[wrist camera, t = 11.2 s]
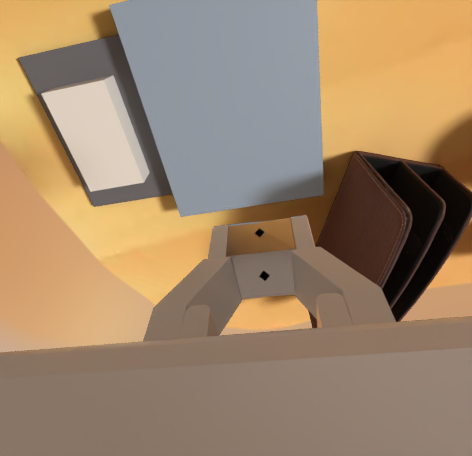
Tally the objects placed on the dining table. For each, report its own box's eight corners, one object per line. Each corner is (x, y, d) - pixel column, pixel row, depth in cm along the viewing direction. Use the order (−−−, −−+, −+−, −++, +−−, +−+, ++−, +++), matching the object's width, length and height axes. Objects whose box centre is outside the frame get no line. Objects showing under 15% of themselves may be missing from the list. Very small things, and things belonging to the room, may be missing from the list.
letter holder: (300, 281, 45) (320, 375, 33) (353, 148, 34) (410, 220, 22) (367, 290, 46) (409, 386, 34) (440, 163, 35) (539, 241, 23)
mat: (21, 57, 29) (18, 57, 29) (122, 33, 28) (120, 34, 28) (95, 204, 38) (93, 206, 38) (175, 191, 37) (174, 193, 37)
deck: (119, 5, 27) (109, 5, 25) (309, -41, 25) (315, -45, 23) (184, 205, 38) (180, 216, 36) (319, 184, 36) (323, 195, 34)
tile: (54, 87, 30) (40, 93, 28) (113, 75, 30) (103, 79, 28) (99, 181, 36) (90, 191, 34) (149, 172, 35) (143, 182, 33)
